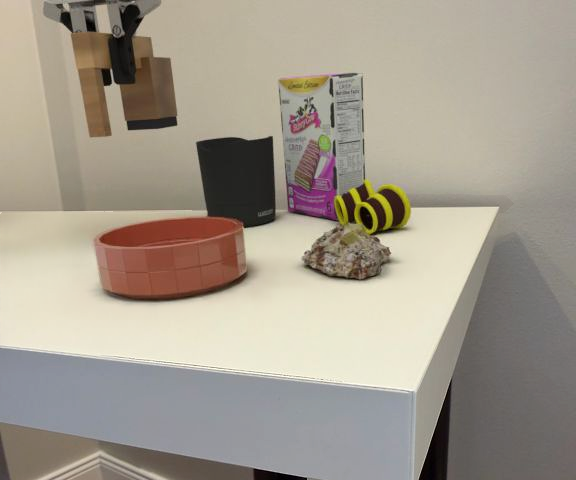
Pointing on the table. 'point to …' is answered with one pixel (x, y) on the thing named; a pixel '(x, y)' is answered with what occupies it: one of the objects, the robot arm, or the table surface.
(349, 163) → the candy bar box
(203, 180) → the pen holder
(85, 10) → the robot arm
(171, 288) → the bowl
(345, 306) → the table surface
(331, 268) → the mineral rock
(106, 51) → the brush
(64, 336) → the table surface
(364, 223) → the opera glasses
